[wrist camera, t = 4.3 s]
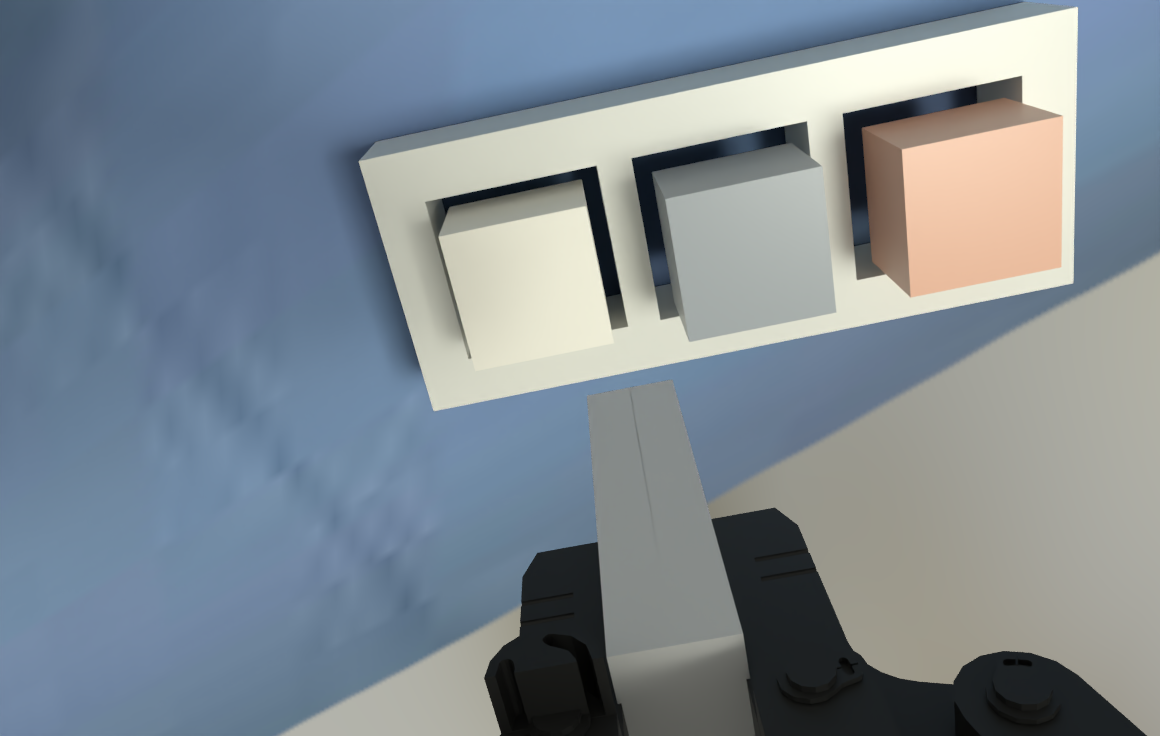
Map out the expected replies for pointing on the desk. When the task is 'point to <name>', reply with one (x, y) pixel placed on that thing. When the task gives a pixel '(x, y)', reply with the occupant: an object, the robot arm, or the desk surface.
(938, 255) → the key terracotta
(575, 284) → the key ivory
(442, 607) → the desk surface
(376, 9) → the desk surface
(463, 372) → the keypad housing
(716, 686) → the robot arm
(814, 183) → the key slate
